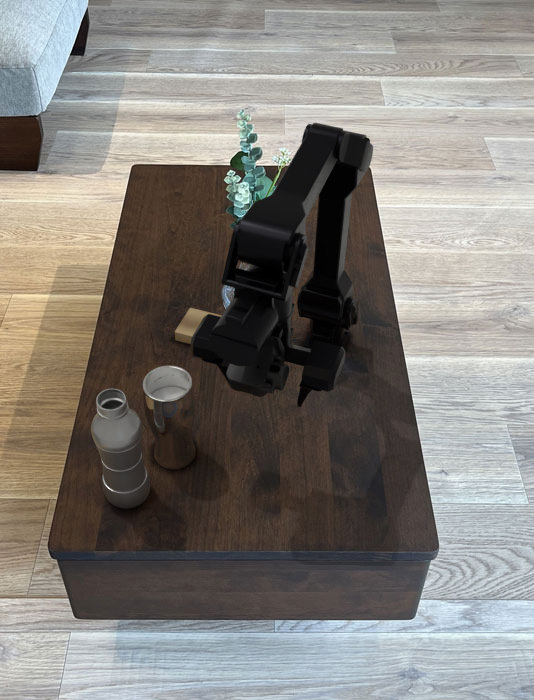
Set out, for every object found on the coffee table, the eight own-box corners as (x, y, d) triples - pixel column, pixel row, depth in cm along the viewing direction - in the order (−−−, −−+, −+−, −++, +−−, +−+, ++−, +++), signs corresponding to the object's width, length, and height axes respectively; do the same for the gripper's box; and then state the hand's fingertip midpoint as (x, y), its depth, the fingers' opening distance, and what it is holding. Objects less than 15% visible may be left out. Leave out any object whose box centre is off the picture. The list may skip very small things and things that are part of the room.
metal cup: (156, 477, 113) (146, 407, 103) (146, 440, 118) (136, 370, 107) (203, 466, 114) (199, 396, 104) (192, 430, 119) (187, 359, 109)
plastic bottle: (128, 468, 114) (111, 371, 100) (162, 493, 111) (149, 397, 97) (94, 497, 111) (72, 401, 97) (129, 523, 108) (110, 428, 94)
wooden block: (190, 316, 137) (190, 307, 136) (231, 326, 136) (230, 317, 134) (175, 340, 133) (174, 331, 132) (216, 351, 131) (216, 342, 130)
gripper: (168, 333, 91) (177, 421, 102) (324, 374, 87) (316, 461, 98) (205, 275, 98) (210, 362, 110) (351, 309, 94) (341, 397, 105)
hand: (266, 395), depth 105 cm, fingers open, 9 cm apart
